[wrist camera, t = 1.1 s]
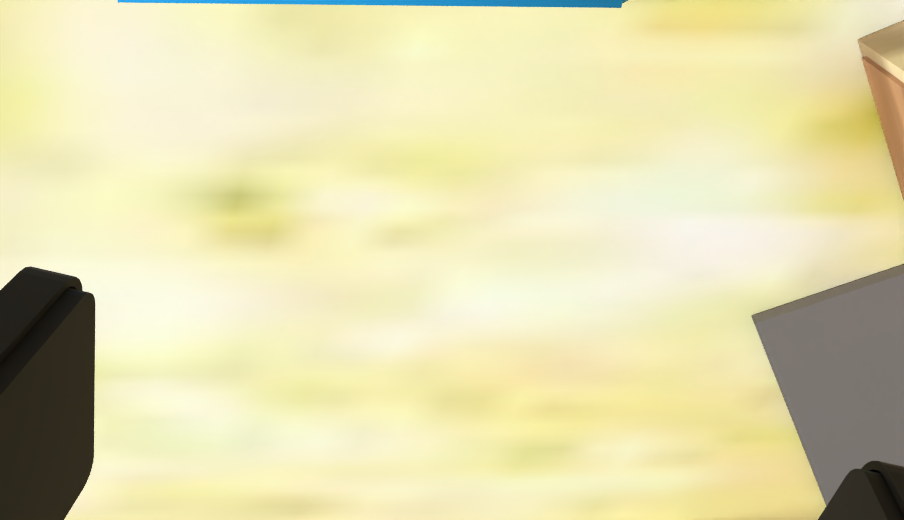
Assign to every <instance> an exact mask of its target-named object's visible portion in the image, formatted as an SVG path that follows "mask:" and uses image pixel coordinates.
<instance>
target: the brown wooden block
mask: <svg viewBox="0 0 904 520" xmlns="http://www.w3.org/2000/svg"><path fill="white" fill-rule="evenodd" d="M858 42H859V46H860V49H861V53H862V56H863V57H862V60H863V64H864V67H865V71H866V74H867V77H868V81H869V84H870V88H871V91H872V94H873V98H874V101H875V104H876V108H877V111H878V115H879V118H880V121H881V125H882V128H883V132H884V135H885V138H886V142H887V145H888V149H889V152H890V155H891V159H892V162H893V165H894V169H895V172H896V176H897V179H898V182H899V186H900V189H901V193H902V196H903V199H904V20H903V21H901V22H898V23H896V24H894V25H891V26H889V27H886V28H884V29H882V30H879V31H877V32H875V33H872V34H870V35H867V36H865V37H863V38H860V39H858Z"/></svg>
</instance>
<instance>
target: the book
mask: <svg viewBox="0 0 904 520" xmlns="http://www.w3.org/2000/svg"><path fill="white" fill-rule="evenodd" d="M626 1H627V0H118V2H136V3H230V4H323V5H417V6H510V7H604V8H621V7H622V3H624V2H626Z"/></svg>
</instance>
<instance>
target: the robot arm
mask: <svg viewBox="0 0 904 520" xmlns="http://www.w3.org/2000/svg"><path fill="white" fill-rule="evenodd" d="M94 373H95V298H94V296H93V294H91V293H88V292H84V291H82V284H81V282H80V279H78V278H77V277H74V276H69V275H65V274H61V273H56V272H52V271H48V270H43V269H39V268H34V267H25V268H24V269H23V270H21V271H20V272H19V273H18V274H17V275H16V276H15V277H14V278H13V279H12V280H11V281H9V282H8V283H7V284H6V285H5V286H4V287H3V288H2V289H1V290H0V520H64V519H65V517H66V515H67V514H68V512H69V511H70V509H71V507H72V506H73V504H74V503H75V501H76V499H77V498H78V496H79V494H80V493H81V491H82V490H83V488H84V486H85V484H86V482H87V480H88V477H89V475H90V472H91V468H92V464H93V457H94ZM818 520H904V467H903V466H898V465H894V464H890V463H885V462H881V461H870V462H868V463H866V464H865V465H864V466H863V467H862V468H861V469H853V470H851V471H850V472H849V473H848V474H847V475H846V477H845V478H844V480H843V481H842V483H841V484H840V486H839V488H838V489H837V491H836V492H835V494H834V495H833V497H832V499H831V500H830V502H829V503H828V505H827V506H826V508H825V510H824V511H823V513H822V514H821V516H820V517H819V519H818Z"/></svg>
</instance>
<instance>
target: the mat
mask: <svg viewBox="0 0 904 520" xmlns="http://www.w3.org/2000/svg"><path fill="white" fill-rule="evenodd" d="M752 318H753V321H754V324H755V326H756V329H757V331H758V334H759V336H760V339H761V341H762V344H763V346H764V349H765V351H766V354H767V356H768V359H769V362H770V364H771V367H772V369H773V372H774V374H775V377H776V379H777V382H778V384H779V387H780V389H781V392H782V394H783V397H784V400H785V402H786V405H787V407H788V410H789V412H790V415H791V417H792V420H793V422H794V425H795V427H796V430H797V432H798V435H799V438H800V440H801V443H802V445H803V448H804V450H805V453H806V455H807V458H808V460H809V463H810V465H811V468H812V470H813V473H814V476H815V478H816V481H817V483H818V486H819V488H820V491H821V493H822V496H823V498H824V501H825V503H826V506H827V505H828V503H829V502H830V500H831V499H832V497H833V495H834V494H835V492H836V491H837V489H838V488H839V486H840V484H841V483H842V481H843V480H844V478H845V477H846V475H847V474H848V473H849V472H850V471H851V470H853V469H861V468H862V467H863V466H864V465H865V464H866V463H868V462H870V461H881V462H885V463H890V464H894V465H898V466H903V467H904V264H903V265H900V266H897V267H894V268H891V269H888V270H885V271H882V272H879V273H876V274H873V275H870V276H867V277H864V278H862V279H859V280H856V281H853V282H850V283H847V284H844V285H841V286H838V287H835V288H832V289H829V290H826V291H823V292H820V293H817V294H814V295H811V296H808V297H805V298H802V299H799V300H796V301H794V302H791V303H788V304H785V305H782V306H779V307H776V308H773V309H770V310H767V311H764V312H761V313H758V314H755V315H752Z"/></svg>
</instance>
